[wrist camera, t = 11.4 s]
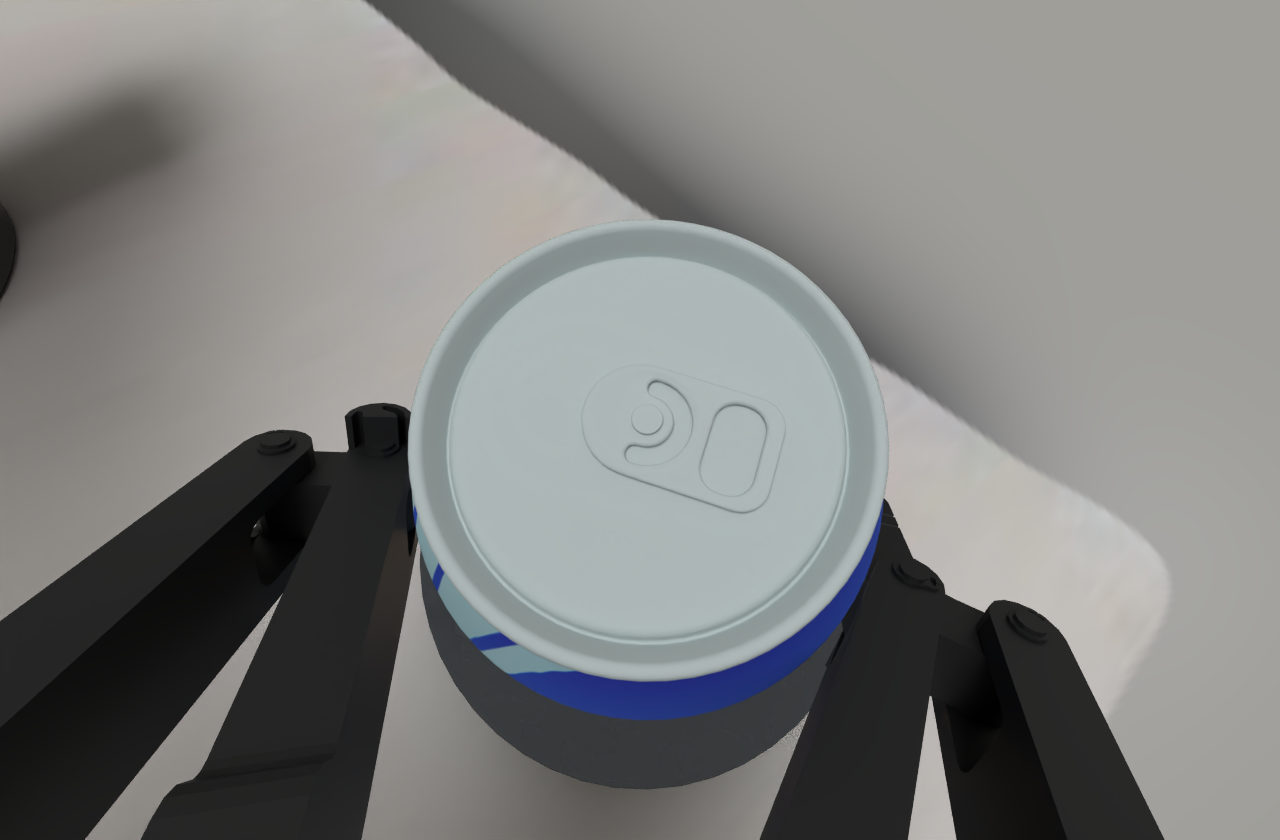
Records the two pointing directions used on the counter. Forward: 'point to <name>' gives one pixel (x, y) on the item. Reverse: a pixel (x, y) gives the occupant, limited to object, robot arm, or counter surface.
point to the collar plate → (616, 744)
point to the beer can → (648, 468)
